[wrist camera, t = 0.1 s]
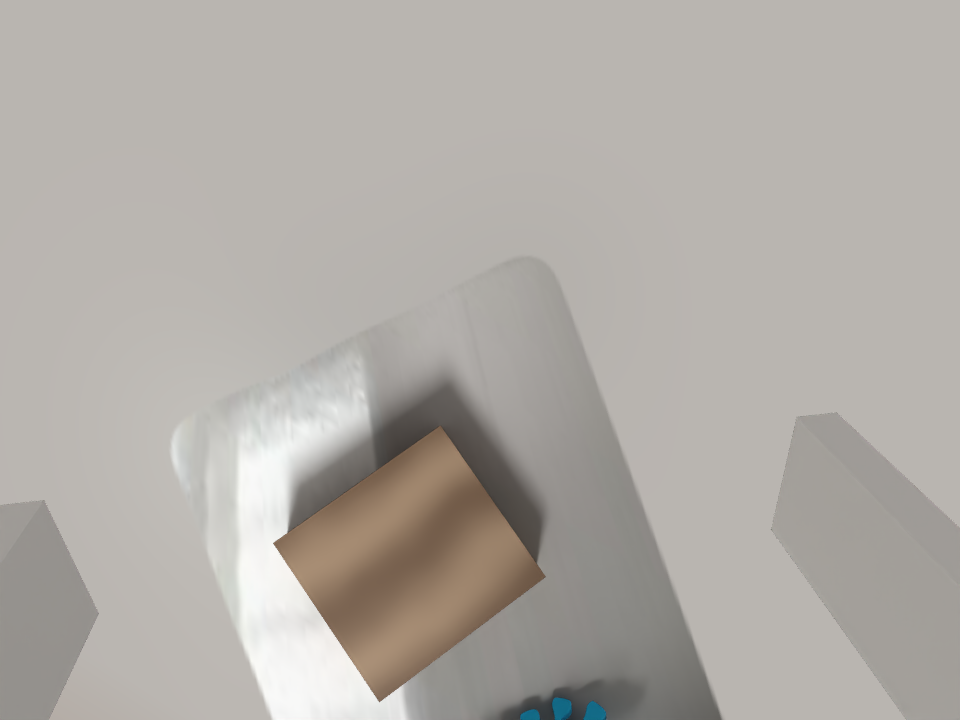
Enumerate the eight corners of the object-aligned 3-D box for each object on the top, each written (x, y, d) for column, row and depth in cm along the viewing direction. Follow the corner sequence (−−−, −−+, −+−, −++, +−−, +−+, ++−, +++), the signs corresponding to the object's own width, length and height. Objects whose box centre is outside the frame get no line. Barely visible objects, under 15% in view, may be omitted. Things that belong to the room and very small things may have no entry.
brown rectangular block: (536, 565, 47) (545, 576, 43) (384, 679, 45) (379, 702, 41) (440, 426, 48) (440, 425, 44) (287, 534, 46) (273, 543, 42)
